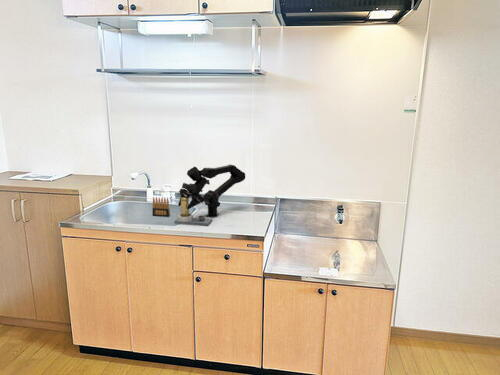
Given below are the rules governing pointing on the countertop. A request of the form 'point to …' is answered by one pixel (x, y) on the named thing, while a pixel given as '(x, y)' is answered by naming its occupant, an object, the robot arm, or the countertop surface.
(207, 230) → the countertop surface
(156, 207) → the ammunition clip
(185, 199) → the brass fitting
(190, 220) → the grey flat piece
